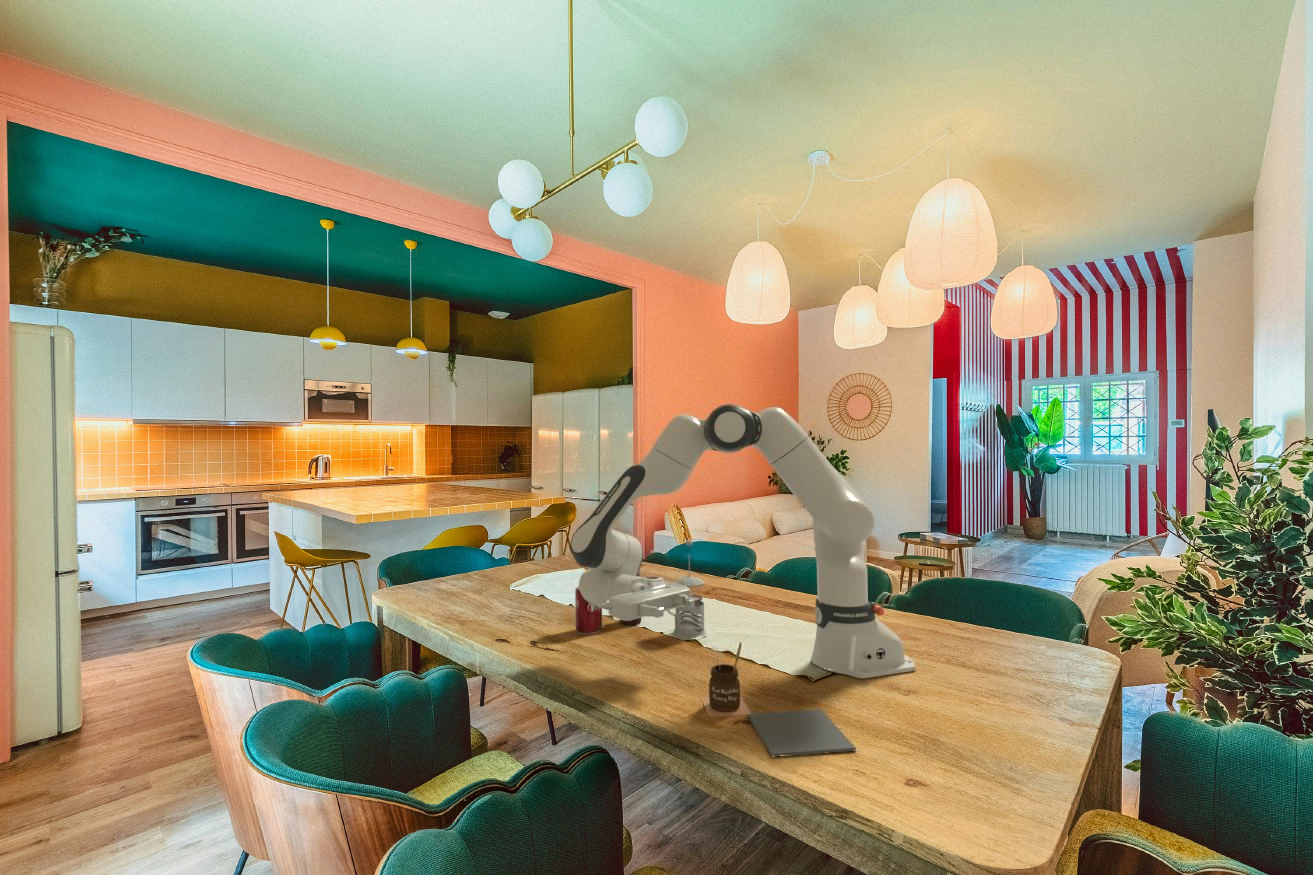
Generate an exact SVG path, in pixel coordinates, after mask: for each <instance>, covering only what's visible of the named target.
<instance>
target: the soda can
mask: <svg viewBox="0 0 1313 875" xmlns="http://www.w3.org/2000/svg"><path fill="white" fill-rule="evenodd" d="M574 594H575V596H574V597H575V600H574V602H575V603H574V604H575V608H574V609H575V610H574V611H575V614H574V616H575V621H574V622H575V631H576V633H577V634H579V635H584V636H591V635H596V634H599V633H601V631H602V630H603V608H600V607H597V606H595V605H593V604H591V603H589V602H588V601H586V600H585V599H584V598H583V596H582V594H581V592H580V589H579V585H578V586H577V587H576V588H575V592H574Z"/></svg>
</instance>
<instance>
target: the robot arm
mask: <svg viewBox="0 0 1313 875" xmlns="http://www.w3.org/2000/svg"><path fill="white" fill-rule="evenodd" d="M747 447H753V448H754V449H757V450H758V451H759V452H760V453H761V455H763V457H764V458H765V459H766V461H767V463H768V464H769V465H770V466H771V467H772V469H773V470H774V471H775V473H776V475H778V476H779V478H780V479H781V480H782V482H783V483H784V485H786V487H787V488H788V490H789V491H790V492H791V493H792V494H793V496H794V497H795V498H796V499H797V500H798V501H799V503H800V504H801V505H802V507H803V508H804V509H805V510H806V511H807V513H809V515H810V516H811V517H812V527H813V528H812V529H813V530H812V531H813V540H814V541H813V542H814V550H815V559H816V584H817V585H816V586H817V588H816V589H817V593H816V594H817V598H816V599H815V609H814V615H815V616H814V617H815V623H816V631H815V632H816V633H815V639H814V640H815V641H814V646H813V651H812V655H811V657H810V661H811V662H812V664H813V665H815V664H816V665H817V666H816V665H815V666H816V667H818V666H819V667H818V668H820V667H821V668H820V669H822V668H826V669H831V670H833V673H837V674H840V675H841V674H842V675H847V676H850V677H853V678H856V679H867V678H868V679H869V678H875V677H882V676H888V675H895V674H896V675H897V674H900V673H901V674H902V673H906V672H908V673H909V672H915V671H916V663H915V662H914V660H913V659H912V658H911V657H909V656H908V655H907V654H905V652H904V647H903V643H902V640H901V639H900V637H899V636H898V635H897V634H896V633H895V632H894V631H892V630H891V629H890V628H889V627H887V625H885V624H884V623H883V622H881V621H880V620H879V619H877V617H876V615H877V616H880V617H882V616H883V615H884V614H885V611H886V610H885V608H884V607H883V606H880V605H879V604H874V603H872V602H870V601H869V600H868V598H869V597H868V596H869V594H868V593H869V592H868V587H869V586H868V564H867V563H866V558H865V552H864V546H863V542H865V541H866V540H867V539H868V538H869V537H870V536H871V535H872V533H873V531H874V527H875V519H874V518H875V517H874V515H873V512H872V510H871V509H870V506H868V504H867V503H866V502H865V501H864V499H862V497H861V496H860V495H859V493H858V492H857V491H856V490H855V489H854V488H853V487H852V486H851V484H850V483H849V482H848V481H847V480H846V479H845V478H844V476H843V475H842V474H840V472H839V471H838V470H837V469H836V468H835V466H833V465H832V464H831V462H830V461H829V460H828V459H827V458H826V456H825V455H824V454H823V453H822V451H821V450H820V448H819V447H818V446H817V445H816V443H815V442H814V441H813V440H812V438H811V437H810V436H809V434H807V432H806V431H805V429H803V427H801V425H800V424H799V423H798V422H797V421H796V420H795V419H794V418H793V417H792V416H790V414H789V413H788V412H786V411H785V410H784V409H782V408H780V407H777V406H772V407H771V406H770V407H767V408H765V409H763V410H760V411H759V412H757V413H756V412H754V411H752V410H749V409H746V408H745V407H742V406H740V405H738V404H737V405H736V404H730V403H729V404H723V405H720V406H718V407H716V408H715V409H713V410H712V411H711V413H710V414H709V415H708V417H706V418H705V419H701V418H698V417H695V416H693V415H690V414H684V413H683V414H678V415H675V416H674V417H673V418H672V419H671V420H670V421H669V422H668V424H666V427H665V428H664V429H663V430H662V432H661V433H660V435H659V436H658V438H657V439H656V440H655V442H654V444H653V445H652V447H651V449H650V451H649V452H648V453H647V454H646V456H645V457H644V458H643V459H641V461H639V462H638V464H636V465H632V466H630V467H629V468H627V469H626V470H625V471H624V472H623V473H622V475H621V476H620V477H619V478H618V479H617V481H615V483H614V484H613V486H612V487H611V488H610V489H609V491H608V493H607V494H606V495H605V496H604V498H603V499H602V500H601V502H600V503H599V504H598V506H597V507H596V508H595V510H594V511H593V512H592V513H591V514H590V516H589V517H588V518H587V519H585V521H583V523H582V524H580V526H579V527H578V528H577V529H576V530H575V532H574V533H573V534H572V537H571V540H570V550H571V551H570V552H571V555H572V557H573V560H575V562H576V564H577V565H578V566H580V567H585V568H588V569H587V570H585V571H583V572H582V573H581V575H580V578H579V581H578V586H579V589H580V592H581V594H582V596H583V598H584V599H585V600H586V601H588V602H589V603H591V604H593V605H595V606H597V607H600V608H602V610H606V611H608V614H609V615H610V616H611V617H613V618H616V619H617V620H619V621H620V620H623V621H630V620H634V619H637V618H641V619H642V618H644V617H650V618H651V617H653V618H657V619H659V618H661V617H664V614H665V613H664V612H667V610H669V611H671V610H673V609H676V608H678V607H681V606H682V607H683V606H684V608H688V609H690V608H694V607H695V601H694V600H693V599H691V594H692V593H691V588H690V589H689V587H686V586H684V585H680V584H677V583H674V582H675V581H670V580H669V581H667V580H665V579H664V578H663V577H661V576H649V577H648V576H646V577H645V576H643V577H642V576H641V577H639V576H637V575H638V573H639V572H640V570H641V567H642V564H643V558H644V550H643V545H642V543H641V541H640V540H639V539H638V538H637V537H635V536H632V535H630V534H627V533H625V532H620V531H618V530H615V529H614V527H615V525H617V522H618V521H619V520H620V519H621V517H622V516H623V515H624V513H625V512H626V511H627V509H629V506H630V505H632V503H634V502H635V501H636V500H638V499H640V498H642V497H646V496H657V495H658V496H663V495H664V496H665V495H669V494H672V493H675V492H678V491H679V490H680V489H681V488H682V487H683V486H684V485H685V484H686V482H687V481H688V479H689V477H690V475H691V474H692V472H693V470H694V469H695V467H696V465H697V464H698V461H699V459H701V457H702V455H703V454H704V453H705V452H706V451H708V450H711V451H715V452H716V451H717V452H720V453H723V454H724V453H725V454H735V453H738V452H739V451H741V450H743V449H744V448H747Z"/></svg>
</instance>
